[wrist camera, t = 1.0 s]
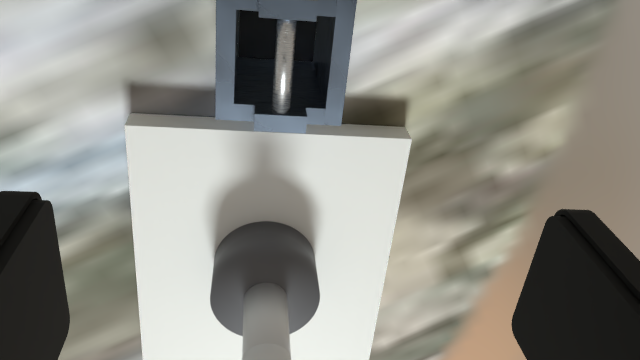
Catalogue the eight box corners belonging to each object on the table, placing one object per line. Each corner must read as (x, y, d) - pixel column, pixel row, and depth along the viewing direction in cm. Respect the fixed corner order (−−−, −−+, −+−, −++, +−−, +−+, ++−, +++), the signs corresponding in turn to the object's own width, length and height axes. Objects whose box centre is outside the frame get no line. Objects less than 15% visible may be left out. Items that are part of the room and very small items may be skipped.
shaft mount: (130, 112, 28) (76, 222, 19) (405, 126, 30) (463, 232, 21) (147, 347, 36) (113, 497, 27) (364, 346, 37) (395, 487, 29)
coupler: (225, -40, 25) (214, -8, 19) (336, -30, 25) (360, 4, 20) (223, 70, 27) (213, 129, 21) (325, 76, 28) (344, 135, 22)
